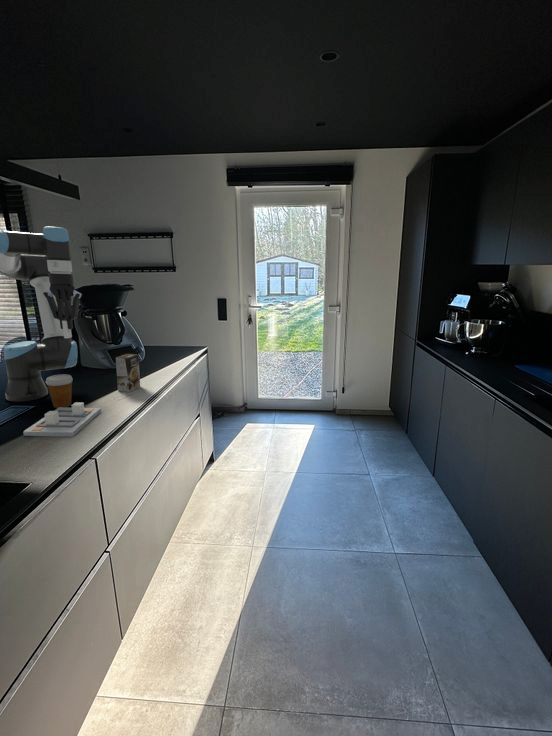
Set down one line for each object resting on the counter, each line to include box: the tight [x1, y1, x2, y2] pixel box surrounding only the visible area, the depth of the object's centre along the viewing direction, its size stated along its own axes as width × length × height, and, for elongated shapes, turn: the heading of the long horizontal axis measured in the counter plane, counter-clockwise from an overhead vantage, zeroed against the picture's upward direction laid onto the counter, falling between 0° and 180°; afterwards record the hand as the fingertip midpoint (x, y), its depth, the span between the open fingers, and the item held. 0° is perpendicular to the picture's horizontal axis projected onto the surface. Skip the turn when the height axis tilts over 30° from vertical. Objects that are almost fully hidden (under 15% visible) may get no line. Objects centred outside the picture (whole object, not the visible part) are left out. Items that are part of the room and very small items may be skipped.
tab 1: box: [44, 410, 59, 425], centre depth 125 cm, size 3×3×4 cm
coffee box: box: [115, 353, 141, 393], centre depth 167 cm, size 9×6×16 cm
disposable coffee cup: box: [45, 373, 73, 409], centre depth 144 cm, size 10×10×12 cm
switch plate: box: [22, 406, 102, 438], centre depth 130 cm, size 16×22×2 cm
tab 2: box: [71, 401, 85, 415], centre depth 134 cm, size 3×3×4 cm
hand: (68, 337), depth 134 cm, fingers closed
